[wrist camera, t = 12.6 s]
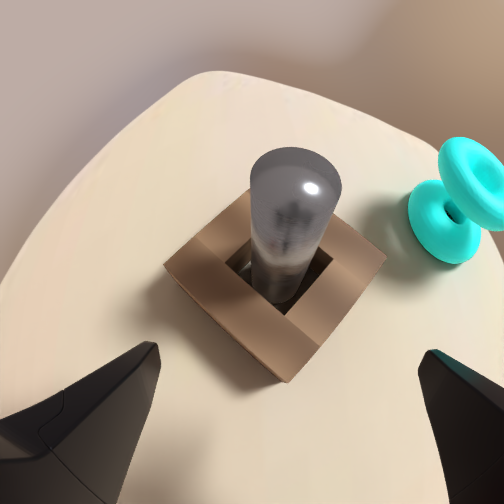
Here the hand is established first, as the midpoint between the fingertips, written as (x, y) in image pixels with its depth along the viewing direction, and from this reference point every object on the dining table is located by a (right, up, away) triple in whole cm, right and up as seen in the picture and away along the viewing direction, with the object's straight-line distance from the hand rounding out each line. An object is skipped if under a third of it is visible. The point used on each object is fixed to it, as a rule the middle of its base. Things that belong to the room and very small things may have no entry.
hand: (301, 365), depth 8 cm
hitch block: (+1, +1, +16) cm, 16 cm away
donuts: (+19, +6, +18) cm, 27 cm away
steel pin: (+1, +1, +16) cm, 16 cm away
